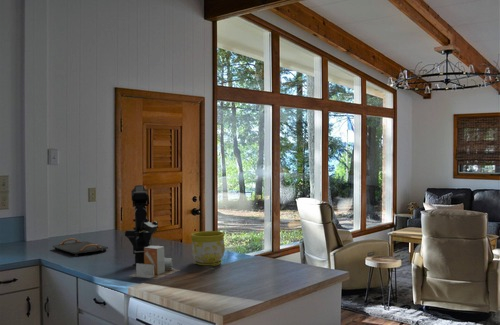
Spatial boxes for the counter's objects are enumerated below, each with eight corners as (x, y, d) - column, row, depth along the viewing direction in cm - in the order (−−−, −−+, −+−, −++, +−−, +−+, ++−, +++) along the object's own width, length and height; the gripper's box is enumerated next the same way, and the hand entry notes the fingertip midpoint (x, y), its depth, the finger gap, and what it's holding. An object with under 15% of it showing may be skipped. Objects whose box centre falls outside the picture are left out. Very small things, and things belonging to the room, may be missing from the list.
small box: (144, 273, 261) (143, 247, 260) (151, 270, 266) (151, 245, 266) (157, 275, 257) (157, 248, 257) (165, 272, 263) (164, 246, 263)
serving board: (111, 252, 324) (111, 242, 324) (75, 258, 309) (74, 247, 309) (84, 245, 353) (83, 235, 353) (49, 250, 338) (49, 240, 337)
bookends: (159, 267, 273) (158, 256, 273) (175, 269, 268) (174, 257, 268) (134, 276, 255) (133, 264, 255) (150, 278, 251) (150, 265, 251)
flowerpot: (188, 262, 288) (187, 232, 287) (219, 259, 294) (218, 230, 294) (196, 269, 271) (195, 237, 271) (229, 265, 277) (229, 234, 277)
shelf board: (153, 268, 275) (153, 267, 275) (180, 271, 267) (180, 270, 267) (128, 277, 257) (128, 275, 257) (156, 280, 249) (156, 279, 249)
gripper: (141, 220, 253) (142, 252, 253) (164, 215, 269) (165, 245, 270) (123, 219, 258) (124, 251, 258) (147, 214, 274) (148, 244, 275)
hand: (141, 247), depth 265 cm, fingers open, 9 cm apart
